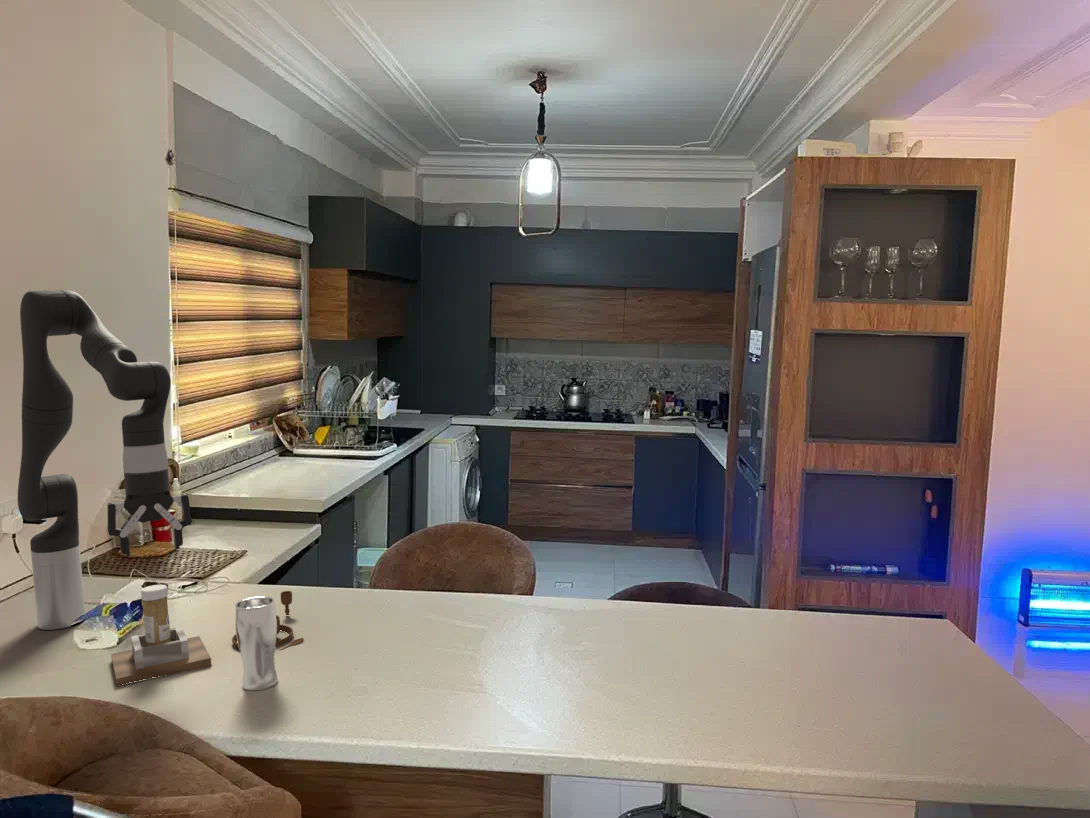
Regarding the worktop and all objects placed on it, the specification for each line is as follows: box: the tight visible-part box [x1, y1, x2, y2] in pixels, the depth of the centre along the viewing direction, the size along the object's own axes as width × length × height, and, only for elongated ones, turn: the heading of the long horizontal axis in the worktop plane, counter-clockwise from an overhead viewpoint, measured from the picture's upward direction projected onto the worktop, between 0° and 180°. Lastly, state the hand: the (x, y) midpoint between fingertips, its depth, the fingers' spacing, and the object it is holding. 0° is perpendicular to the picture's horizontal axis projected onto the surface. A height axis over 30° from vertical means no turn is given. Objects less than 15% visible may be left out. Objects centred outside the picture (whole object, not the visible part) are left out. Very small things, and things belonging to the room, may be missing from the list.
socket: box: [110, 626, 212, 687], centre depth 157 cm, size 14×16×5 cm
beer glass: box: [234, 596, 279, 692], centre depth 145 cm, size 7×7×15 cm
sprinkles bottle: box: [140, 584, 171, 646], centre depth 156 cm, size 5×5×14 cm
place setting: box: [231, 590, 305, 652], centre depth 171 cm, size 18×20×6 cm
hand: (152, 552), depth 155 cm, fingers open, 8 cm apart
